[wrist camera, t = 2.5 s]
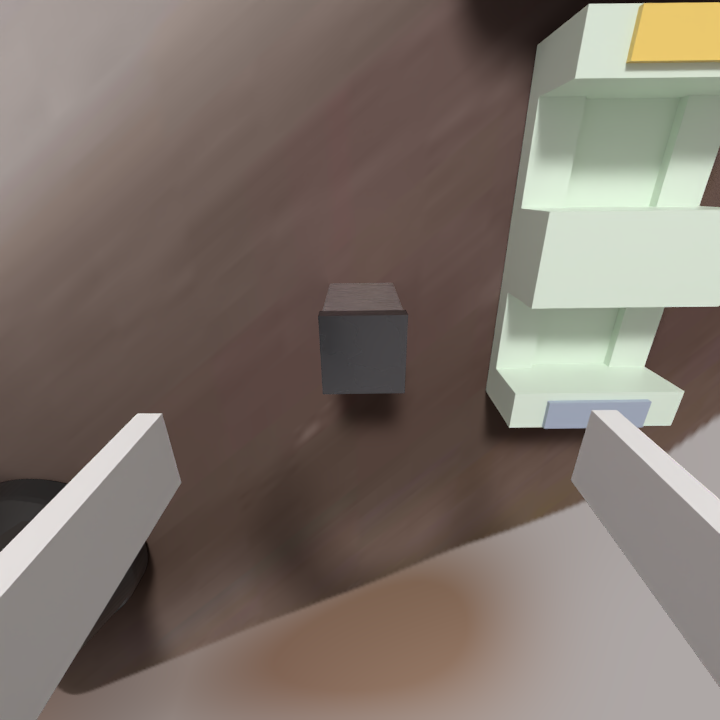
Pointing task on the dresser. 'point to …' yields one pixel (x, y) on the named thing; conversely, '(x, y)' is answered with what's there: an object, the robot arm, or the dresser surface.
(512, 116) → the dresser surface
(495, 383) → the socket block
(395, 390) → the plug
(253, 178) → the dresser surface
